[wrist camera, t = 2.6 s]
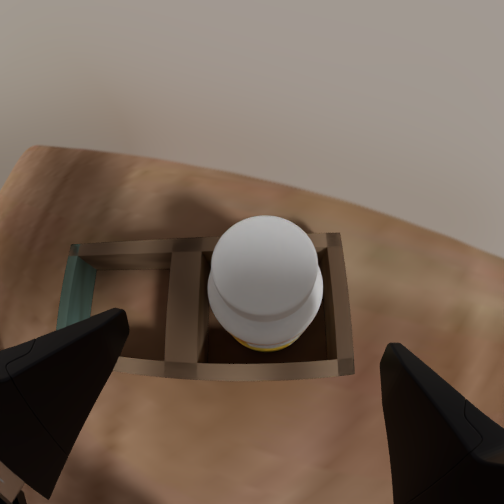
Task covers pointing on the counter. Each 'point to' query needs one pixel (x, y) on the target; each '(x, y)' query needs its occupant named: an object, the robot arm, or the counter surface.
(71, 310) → the slot rack
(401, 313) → the counter surface
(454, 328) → the counter surface
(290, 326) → the supplement bottle
